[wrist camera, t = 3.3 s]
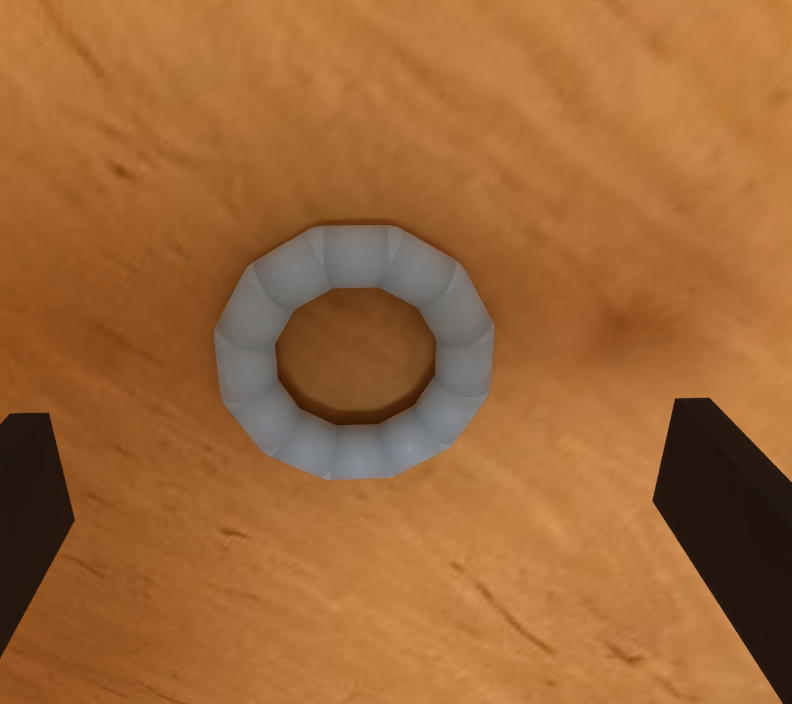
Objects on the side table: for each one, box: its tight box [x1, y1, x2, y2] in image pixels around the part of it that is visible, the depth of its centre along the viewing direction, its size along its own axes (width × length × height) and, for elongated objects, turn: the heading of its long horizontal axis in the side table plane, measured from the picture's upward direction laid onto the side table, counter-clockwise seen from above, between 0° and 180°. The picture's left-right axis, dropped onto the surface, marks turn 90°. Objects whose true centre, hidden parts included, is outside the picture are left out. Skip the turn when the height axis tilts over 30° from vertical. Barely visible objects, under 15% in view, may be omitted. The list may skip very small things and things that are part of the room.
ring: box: [214, 225, 495, 480], centre depth 19 cm, size 8×8×2 cm
